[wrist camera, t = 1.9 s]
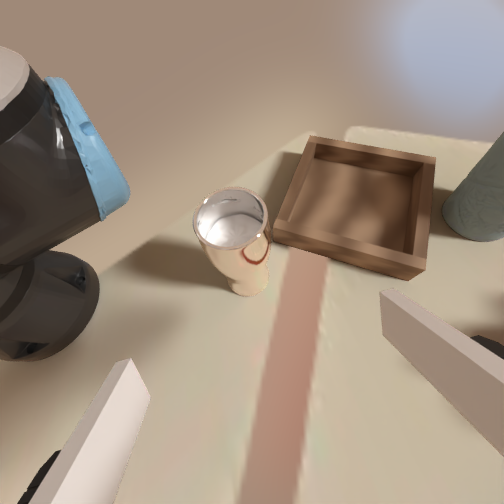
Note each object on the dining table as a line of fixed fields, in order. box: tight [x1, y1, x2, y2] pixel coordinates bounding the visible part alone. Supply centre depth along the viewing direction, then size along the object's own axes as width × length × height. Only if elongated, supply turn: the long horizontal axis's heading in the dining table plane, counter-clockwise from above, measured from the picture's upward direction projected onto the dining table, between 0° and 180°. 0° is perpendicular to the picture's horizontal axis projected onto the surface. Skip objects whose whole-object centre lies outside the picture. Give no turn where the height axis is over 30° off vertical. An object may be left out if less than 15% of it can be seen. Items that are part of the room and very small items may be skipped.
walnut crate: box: [273, 136, 436, 281], centre depth 35 cm, size 19×19×4 cm
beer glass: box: [193, 187, 271, 296], centre depth 27 cm, size 7×7×15 cm
